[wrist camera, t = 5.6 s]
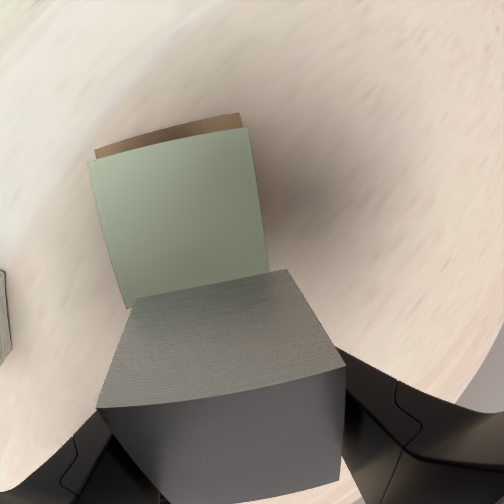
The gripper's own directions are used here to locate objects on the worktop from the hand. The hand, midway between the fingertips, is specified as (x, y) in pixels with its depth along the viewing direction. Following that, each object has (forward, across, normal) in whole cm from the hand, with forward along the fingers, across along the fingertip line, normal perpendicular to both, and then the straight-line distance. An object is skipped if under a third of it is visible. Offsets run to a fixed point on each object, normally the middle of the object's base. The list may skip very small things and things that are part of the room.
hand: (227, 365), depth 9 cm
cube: (+1, 0, 0) cm, 1 cm away
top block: (+9, +1, -3) cm, 10 cm away
